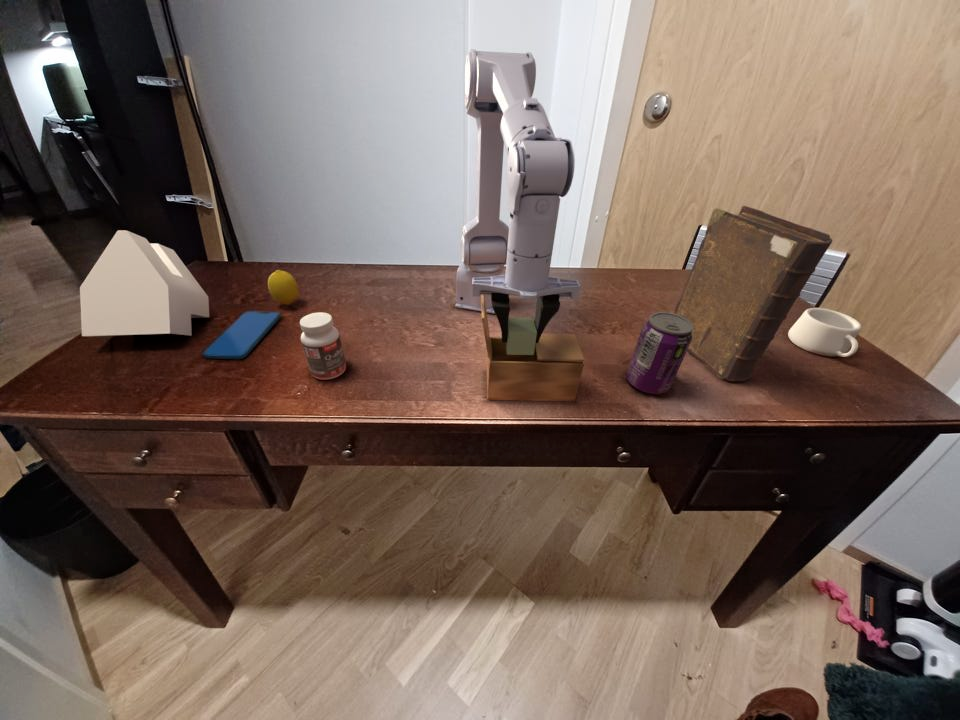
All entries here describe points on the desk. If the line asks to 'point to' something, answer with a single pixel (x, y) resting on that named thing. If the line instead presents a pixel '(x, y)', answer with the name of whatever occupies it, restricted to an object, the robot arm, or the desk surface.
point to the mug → (826, 332)
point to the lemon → (283, 287)
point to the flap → (485, 326)
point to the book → (745, 286)
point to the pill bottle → (322, 346)
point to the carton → (536, 370)
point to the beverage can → (659, 352)
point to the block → (521, 336)
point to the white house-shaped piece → (139, 291)
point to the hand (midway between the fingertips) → (519, 339)
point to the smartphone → (242, 335)
